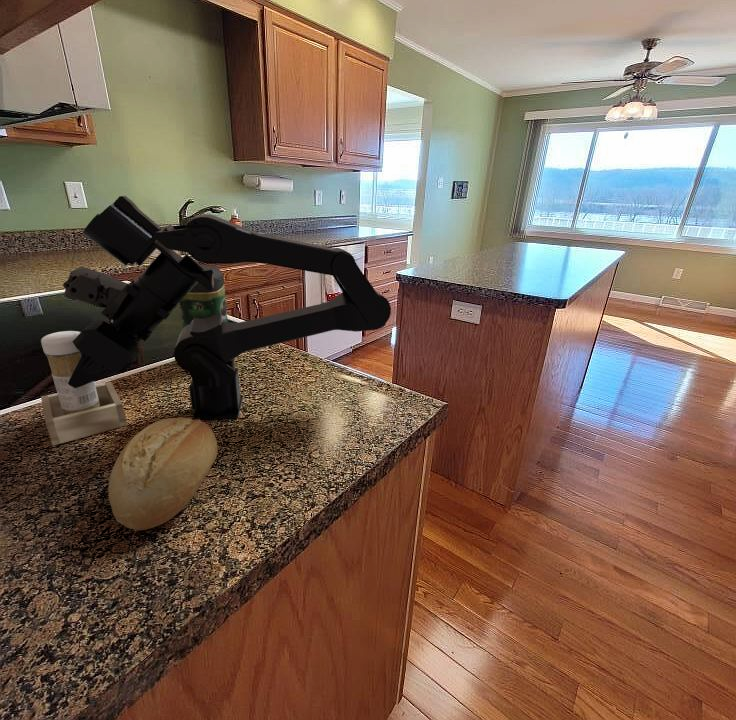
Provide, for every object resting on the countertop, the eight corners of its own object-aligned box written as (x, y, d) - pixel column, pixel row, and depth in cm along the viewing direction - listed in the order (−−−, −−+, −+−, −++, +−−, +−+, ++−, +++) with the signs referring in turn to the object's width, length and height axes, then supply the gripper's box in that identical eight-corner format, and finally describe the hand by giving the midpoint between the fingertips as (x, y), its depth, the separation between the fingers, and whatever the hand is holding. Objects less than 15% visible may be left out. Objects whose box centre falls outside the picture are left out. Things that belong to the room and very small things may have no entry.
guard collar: (115, 401, 63) (110, 381, 62) (127, 425, 57) (122, 403, 56) (47, 417, 58) (40, 396, 56) (52, 445, 52) (45, 422, 50)
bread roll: (234, 450, 53) (229, 397, 50) (190, 540, 39) (180, 476, 36) (161, 448, 53) (152, 395, 50) (92, 538, 39) (72, 473, 36)
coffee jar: (195, 351, 84) (184, 262, 76) (234, 351, 85) (227, 263, 77) (181, 370, 75) (167, 271, 68) (224, 370, 76) (215, 272, 69)
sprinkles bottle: (98, 411, 60) (77, 327, 55) (109, 423, 57) (88, 336, 52) (62, 422, 57) (36, 334, 51) (71, 436, 54) (45, 344, 49)
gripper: (121, 238, 58) (53, 313, 59) (73, 258, 41) (-20, 362, 43) (187, 289, 63) (123, 358, 64) (167, 326, 47) (82, 417, 48)
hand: (84, 371), depth 55 cm, fingers open, 9 cm apart
